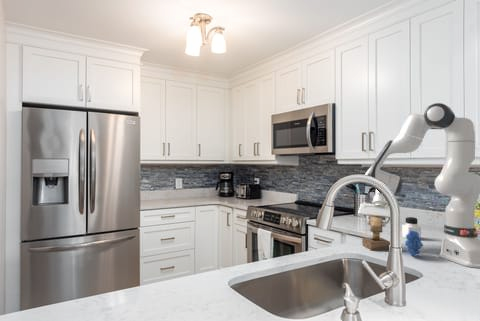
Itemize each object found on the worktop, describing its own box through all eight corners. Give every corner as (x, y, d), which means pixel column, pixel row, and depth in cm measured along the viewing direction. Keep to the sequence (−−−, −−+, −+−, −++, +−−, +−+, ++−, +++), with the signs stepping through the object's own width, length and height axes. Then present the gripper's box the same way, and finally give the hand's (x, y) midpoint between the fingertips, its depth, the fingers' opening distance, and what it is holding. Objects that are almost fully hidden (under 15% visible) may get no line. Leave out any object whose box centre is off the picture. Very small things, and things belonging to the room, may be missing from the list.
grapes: (416, 260, 138) (416, 233, 138) (401, 256, 143) (401, 230, 144) (429, 256, 144) (429, 230, 145) (414, 253, 150) (414, 227, 150)
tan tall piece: (384, 240, 156) (384, 218, 156) (373, 240, 156) (373, 218, 156) (379, 238, 162) (379, 216, 162) (368, 237, 162) (368, 216, 162)
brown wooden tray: (391, 250, 154) (391, 242, 154) (371, 250, 153) (371, 242, 153) (381, 245, 164) (381, 237, 164) (362, 245, 163) (362, 237, 163)
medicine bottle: (421, 239, 178) (421, 218, 178) (408, 239, 178) (408, 218, 178) (414, 237, 185) (414, 216, 185) (402, 236, 185) (402, 216, 185)
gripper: (359, 198, 171) (353, 218, 163) (401, 201, 158) (396, 223, 150) (362, 205, 174) (356, 225, 166) (403, 209, 162) (398, 231, 154)
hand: (376, 224), depth 158 cm, fingers closed on tan tall piece, 6 cm apart
